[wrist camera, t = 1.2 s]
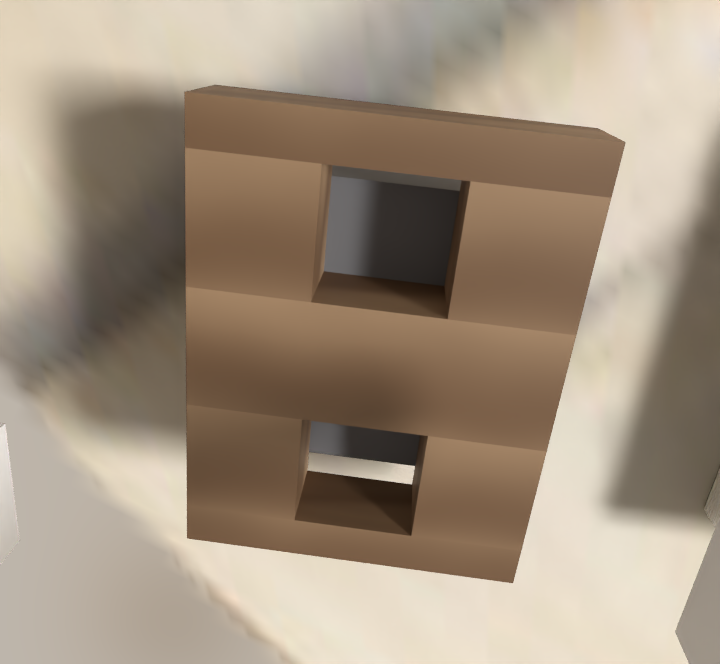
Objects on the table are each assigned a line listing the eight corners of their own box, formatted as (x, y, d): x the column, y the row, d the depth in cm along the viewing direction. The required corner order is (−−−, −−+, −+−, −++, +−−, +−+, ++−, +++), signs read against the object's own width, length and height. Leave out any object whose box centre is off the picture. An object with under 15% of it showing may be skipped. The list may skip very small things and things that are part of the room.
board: (214, 84, 18) (184, 91, 15) (598, 128, 17) (625, 142, 15) (210, 488, 23) (187, 538, 21) (503, 527, 23) (513, 583, 20)
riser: (308, 148, 22) (286, 170, 18) (491, 169, 22) (505, 196, 18) (292, 388, 26) (271, 446, 22) (448, 408, 25) (453, 470, 22)
